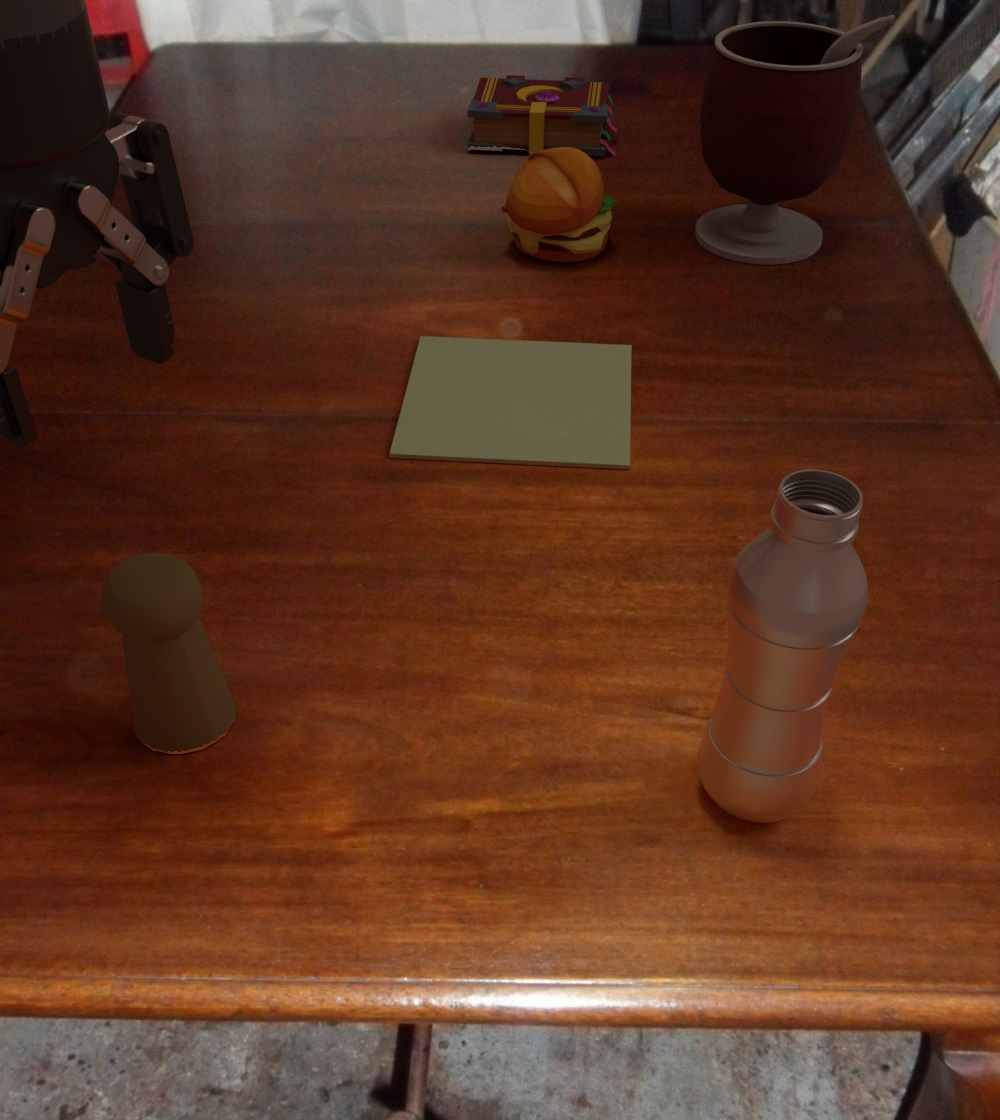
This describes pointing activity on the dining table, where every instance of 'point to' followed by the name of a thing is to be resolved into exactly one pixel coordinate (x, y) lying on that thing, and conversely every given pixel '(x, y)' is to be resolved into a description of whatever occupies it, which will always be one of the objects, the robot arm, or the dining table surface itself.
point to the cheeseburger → (559, 206)
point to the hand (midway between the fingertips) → (88, 396)
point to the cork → (167, 653)
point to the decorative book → (541, 114)
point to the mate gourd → (776, 131)
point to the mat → (517, 403)
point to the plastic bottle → (785, 649)
